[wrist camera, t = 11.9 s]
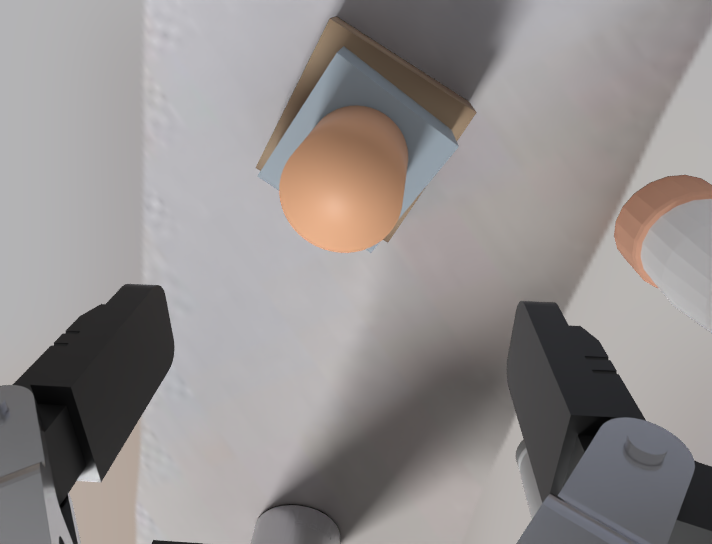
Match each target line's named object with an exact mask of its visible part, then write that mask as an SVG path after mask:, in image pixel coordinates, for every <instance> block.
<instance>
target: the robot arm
mask: <svg viewBox="0 0 712 544" xmlns="http://www.w3.org/2000/svg"><path fill="white" fill-rule="evenodd" d="M173 357H174V339H173V334H172V328H171V323H170V318H169V312H168V307H167V302H166V296H165V293H164V290H163V288H162V287H161V286H159V285H140V284H125V285H124V286H122V287H121V288H120V290H119V291H118V292H117V293H116V294H115V295H114V296H113V297H112V298H111V299H110V300H109V301H108V302H107V303H106V304H101V305H99V306H97V307H95V308H94V309H92V310H90V311H88V312H87V313H85V314H83V315H81V316H80V317H79V318H78V319H77V320H76V321H75V322H74V323H73V324H72V325H71V326H70V327H69V328H68V329H67V330H66V333H65V334H62V335H61V336H60V337H59V338H58V339H57V340H56V341H55V342H54V346H50V347H49V348H48V349H47V350H46V351H45V352H44V354H42V355H41V356H40V357H39V359H38V360H37V361H35V363H34V364H33V365H32V366H31V367H30V368H29V369H28V370H27V371H26V372H25V373H24V374H23V375H22V376H21V377H20V378H19V379H18V380H17V381H16V382H15V383H14V384H13V385H3V386H0V544H81V541H80V537H79V532H78V527H77V523H76V518H75V513H74V508H73V503H72V500H71V498H70V495H69V491H70V490H71V488H72V487H73V485H74V484H75V482H76V481H90V482H102V480H103V478H104V477H105V475H106V473H107V471H108V470H109V468H110V467H111V465H112V463H113V461H114V460H115V458H116V456H117V455H118V453H119V452H120V450H121V448H122V447H123V445H124V443H125V442H126V440H127V438H128V437H129V435H130V434H131V432H132V430H133V429H134V427H135V425H136V424H137V422H138V420H139V419H140V417H141V415H142V414H143V412H144V410H145V409H146V407H147V405H148V404H149V402H150V400H151V399H152V397H153V395H154V394H155V392H156V391H157V389H158V387H159V386H160V384H161V382H162V381H163V379H164V377H165V376H166V374H167V372H168V371H169V369H170V367H171V364H172V361H173ZM507 381H508V386H509V390H510V393H511V397H512V400H513V404H514V407H515V411H516V414H517V418H518V421H519V424H520V428H521V431H522V435H523V438H524V442H525V445H526V449H527V452H528V455H529V459H530V462H531V466H532V469H533V473H534V476H535V480H536V483H537V486H538V490H539V493H540V497H541V500H542V505H541V506H540V508H539V509H538V511H537V513H536V514H535V516H534V517H533V519H532V520H531V522H530V523H529V525H528V526H527V528H526V530H525V531H524V533H523V534H522V536H521V537H520V539H519V540H518V542H517V544H712V467H711V466H708V465H704V464H702V463H699V462H696V461H694V459H693V456H692V454H691V452H690V451H689V449H688V448H687V447H686V445H685V444H684V443H683V442H682V441H681V440H680V439H678V438H677V437H676V436H675V435H673V434H672V433H671V432H669V431H667V430H666V429H664V428H662V427H660V426H658V425H656V424H653V423H651V422H648V421H646V420H645V418H644V417H643V415H642V413H641V411H640V410H639V408H638V406H637V405H636V403H635V401H634V399H633V398H632V396H631V394H630V393H629V391H628V389H627V388H626V386H625V384H624V383H623V381H622V379H621V378H620V376H619V375H618V374H617V373H616V369H615V367H614V366H613V364H612V362H611V361H610V360H608V355H607V354H606V352H605V350H604V349H603V347H602V345H601V344H600V342H599V340H597V339H596V338H595V337H593V336H592V335H591V334H589V333H588V332H587V331H586V330H585V329H583V328H582V327H581V326H568V324H567V322H566V320H565V318H564V316H563V314H562V312H561V310H560V308H559V307H558V305H557V304H556V303H553V302H529V301H520V302H519V304H518V306H517V309H516V314H515V320H514V326H513V331H512V337H511V342H510V348H509V353H508V359H507ZM152 544H201V543H187V542H172V541H158V540H153V542H152ZM251 544H340V532H339V529H338V527H337V525H336V524H335V523H334V522H333V521H332V519H330V518H329V517H328V516H326V515H325V514H323V513H321V512H320V511H318V510H315V509H312V508H309V507H304V506H298V505H286V506H279V507H275V508H272V509H270V510H268V511H266V512H265V513H263V514H262V515H261V516H260V517H259V519H258V520H257V522H256V525H255V529H254V533H253V536H252V540H251Z"/></svg>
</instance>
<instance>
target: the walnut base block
mask: <svg viewBox="0 0 712 544" xmlns="http://www.w3.org/2000/svg"><path fill="white" fill-rule="evenodd" d="M343 46H344V47H346V48H347V49H348V50H349V51H351V52H352V53H353V54H355V55H356V56H357V57H358V58H360V59H361V60H362V61H364V62H365V63H366V64H367V65H369V66H370V67H371V68H373V69H374V70H375V71H377V72H378V73H379V74H380V75H382V76H383V77H384V78H386V79H387V80H388V81H389V82H391V83H392V84H393V85H395V86H396V87H397V88H398V89H400V90H401V91H402V92H404V93H405V94H406V95H407V96H409V97H410V98H411V99H413V100H414V101H415V102H416V103H418V104H419V105H420V106H422V107H423V108H424V109H425V110H427V111H428V112H429V113H431V114H432V115H433V116H434V117H436V118H437V119H438V120H440V121H441V122H442V123H443V124H445V125H446V126H447V127H449V128H450V129H451V130H452V132H453V134H454V137H455V139H456V141H457V140H458V139H459V137H460V136H461V135H462V133H463V132H464V130H465V129H466V127H467V126H468V124H469V123H470V121H471V120H472V118H473V117H474V115H475V114H476V111H475V110H474V108H473V107H472V105H471V104H470V102H469V101H467V100H466V99H464V98H463V97H461V96H459V95H458V94H456V93H455V92H453V91H452V90H450V89H449V88H447V87H445V86H444V85H442V84H441V83H439V82H438V81H436V80H435V79H433V78H431V77H430V76H428V75H427V74H425V73H424V72H422V71H421V70H419V69H417V68H416V67H414V66H413V65H411V64H410V63H408V62H407V61H405V60H403V59H402V58H400V57H399V56H397V55H396V54H394V53H393V52H391V51H389V50H388V49H386V48H385V47H383V46H382V45H380V44H379V43H377V42H375V41H374V40H372V39H371V38H369V37H368V36H366V35H365V34H363V33H361V32H360V31H358V30H357V29H355V28H354V27H352V26H351V25H349V24H347V23H346V22H344V21H343V20H341V19H340V18H338V17H337V16H336V17H333V18H330V19H329V21H328V23H327V25H326V27H325V29H324V31H323V33H322V35H321V37H320V39H319V41H318V44H317V46H316V48H315V50H314V52H313V54H312V56H311V58H310V60H309V62H308V64H307V66H306V68H305V70H304V72H303V74H302V76H301V78H300V80H299V82H298V84H297V86H296V88H295V90H294V92H293V94H292V96H291V98H290V100H289V102H288V104H287V106H286V108H285V110H284V112H283V114H282V116H281V118H280V120H279V122H278V124H277V126H276V128H275V130H274V132H273V134H272V136H271V138H270V140H269V142H268V144H267V146H266V148H265V150H264V152H263V154H262V156H261V158H260V160H259V162H258V164H257V166H256V168H257V169H258V170H260V171H261V170H262V168H263V167H264V165H265V163H266V162H267V160H268V159H269V157H270V156H271V154H272V153H273V151H274V149H275V148H276V146H277V145H278V143H279V142H280V140H281V139H282V137H283V136H284V134H285V132H286V131H287V129H288V128H289V126H290V125H291V123H292V122H293V120H294V118H295V117H296V115H297V114H298V112H299V111H300V109H301V108H302V106H303V104H304V103H305V101H306V100H307V98H308V97H309V95H310V94H311V92H312V90H313V89H314V87H315V86H316V84H317V83H318V81H319V80H320V78H321V76H322V75H323V73H324V72H325V70H326V69H327V67H328V66H329V64H330V62H331V61H332V59H333V58H334V56H335V55H336V53H337V52H338V51H339V50H340V49H341V48H342V47H343ZM427 185H428V184H427ZM424 189H425V188H424ZM424 189H423V190H424ZM422 192H423V191H422ZM422 192H421V193H422ZM421 193H420V194H419V195H418V197H417V198H416V199H415V200H414V201H413V203H412V204H411V205H410V206H409V208H408V209H407V210H406V211H405V212H404V214H403V215H402V216H401V217H400V218H399V220H398V221H397V223H396V225H395V226H394V228H393V229H392V231H391V232H390V233H389V234H388V235H387V236H386V237H385V238H384V239H383V240H385V241H386V242H389V240H390V239H391V237H392V236H393V234H394V233H395V232H396V230H397V229H398V227H399V226H400V224H401V223H402V221H403V220H404V218H405V217H406V215H407V214H408V212H409V211H410V209H411V208H412V207H413V205H414V204H415V202H416V201H417V199H418V198H419V196H420V195H421Z"/></svg>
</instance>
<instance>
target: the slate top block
mask: <svg viewBox="0 0 712 544" xmlns="http://www.w3.org/2000/svg"><path fill="white" fill-rule="evenodd" d="M357 105H358V106H366V107H370V108H373V109H376V110H378V111H380V112H382V113H384V114H385V115H386V116H388V117H389V118H390V119H391V120H392V121H393V122H394V123H395V124H396V125H397V126H398V127H399V129H400V131H401V132H402V134H403V136H404V138H405V141H406V144H407V148H408V167H407V174H406V182H405V189H404V197H403V204H402V210H401V213H400V216H399V218H400V217H401V216H402V215H403V214H404V212H405V211H406V210H407V209H408V208H409V206H410V205H411V204H412V203H413V201H414V200H415V199H416V198H417V197H418V195H419V194H420V193H421V192H422V191H423V189H424V188H425V187H426V186H427V184H428V183H429V182H430V181H431V180H432V178H433V177H434V176H435V175H436V174H437V172H438V171H439V170H440V169H441V167H442V166H443V165H444V164H445V163H446V161H447V160H448V159H449V158H450V157H451V155H452V154H453V153H454V152H455V150H456V149H457V148H458V147H459V146H458V144H457V141H456V139H455V137H454V134H453V132H452V130H451V129H450V128H449V127H447V126H446V125H445V124H443V123H442V122H441V121H440V120H438V119H437V118H436V117H434V116H433V115H432V114H431V113H429V112H428V111H427V110H425V109H424V108H423V107H422V106H420V105H419V104H418V103H416V102H415V101H414V100H413V99H411V98H410V97H409V96H407V95H406V94H405V93H404V92H402V91H401V90H400V89H398V88H397V87H396V86H395V85H393V84H392V83H391V82H389V81H388V80H387V79H386V78H384V77H383V76H382V75H380V74H379V73H378V72H377V71H375V70H374V69H373V68H371V67H370V66H369V65H367V64H366V63H365V62H364V61H362V60H361V59H360V58H358V57H357V56H356V55H355V54H353V53H352V52H351V51H349V50H348V49H347V48H346V47H344V46H343V47H342V48H341V49H340V50H339V51H338V52H337V53H336V55H335V56H334V58H333V59H332V61H331V62H330V64H329V66H328V67H327V69H326V70H325V72H324V73H323V75H322V76H321V78H320V80H319V81H318V83H317V84H316V86H315V87H314V89H313V90H312V92H311V94H310V95H309V97H308V98H307V100H306V101H305V103H304V104H303V106H302V108H301V109H300V111H299V112H298V114H297V115H296V117H295V118H294V120H293V122H292V123H291V125H290V126H289V128H288V129H287V131H286V132H285V134H284V136H283V137H282V139H281V140H280V142H279V143H278V145H277V146H276V148H275V149H274V151H273V153H272V154H271V156H270V157H269V159H268V160H267V162H266V163H265V165H264V167H263V168H262V170H261V171H260V173H259V174H258V177H259V178H261V179H262V180H264V181H265V182H267V183H268V184H270V185H271V186H273V187H274V188H276V189H277V190H279V185H280V178H281V174H282V171H283V169H284V166H285V164H286V162H287V161H288V159H289V158H290V156H291V155H292V154H293V153H294V151H295V150H296V149H297V148H298V147H299V145H300V144H301V143H302V142H303V141H304V139H305V138H306V137H307V136H308V135H309V133H310V132H311V131H312V130H313V128H314V127H315V126H316V125H317V124H318V123H319V121H320V120H321V119H322V118H323V117H325V116H326V115H327V114H329V113H330V112H332V111H334V110H336V109H339V108H342V107H346V106H357ZM398 220H399V219H398ZM380 242H381V241H380ZM380 242H379V243H380ZM379 243H377V244H376V245H374V246H372V247H370V248H367V249H366V250H367V251H369V252H370V253H371V252H372V251H373V250H374V249H375V248H376V246H377V245H378V244H379Z"/></svg>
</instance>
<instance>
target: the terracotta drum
mask: <svg viewBox="0 0 712 544" xmlns="http://www.w3.org/2000/svg"><path fill="white" fill-rule="evenodd" d="M407 167H408V148H407V144H406V141H405V138H404V136H403V134H402V132H401V131H400V129H399V127H398V126H397V125H396V124H395V123H394V122H393V121H392V120H391V119H390V118H389V117H388V116H386V115H385V114H384V113H382V112H380V111H378V110H376V109H373V108H370V107H366V106H358V105H357V106H346V107H342V108H339V109H336V110H334V111H332V112H330V113H329V114H327V115H326V116H325V117H323V118H322V119H321V120H320V121H319V123H318V124H317V125H316V126H315V127H314V128H313V130H312V131H311V132H310V133H309V135H308V136H307V137H306V138H305V139H304V141H303V142H302V143H301V144H300V145H299V147H298V148H297V149H296V150H295V151H294V153H293V154H292V155H291V156H290V158H289V159H288V161H287V162H286V164H285V166H284V169H283V171H282V174H281V178H280V185H279V194H280V202H281V205H282V209H283V211H284V214H285V216H286V218H287V220H288V221H289V223H290V224H291V226H292V227H293V228H294V229H295V231H296V232H297V233H298V234H299V235H300V236H302V237H303V238H304V239H305V240H307V241H308V242H310V243H311V244H313V245H315V246H317V247H319V248H322V249H325V250H329V251H333V252H340V253H349V252H357V251H361V250H365V249H367V248H370V247H372V246H374V245H376V244H377V243H379V242H380V241H382V240H383V239H384V238H385V237H386V236H387V235H388V234H389V233H390V232H391V231H392V229H393V228H394V226H395V225H396V223H397V221H398V219H399V216H400V213H401V210H402V204H403V197H404V189H405V182H406V174H407Z"/></svg>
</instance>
